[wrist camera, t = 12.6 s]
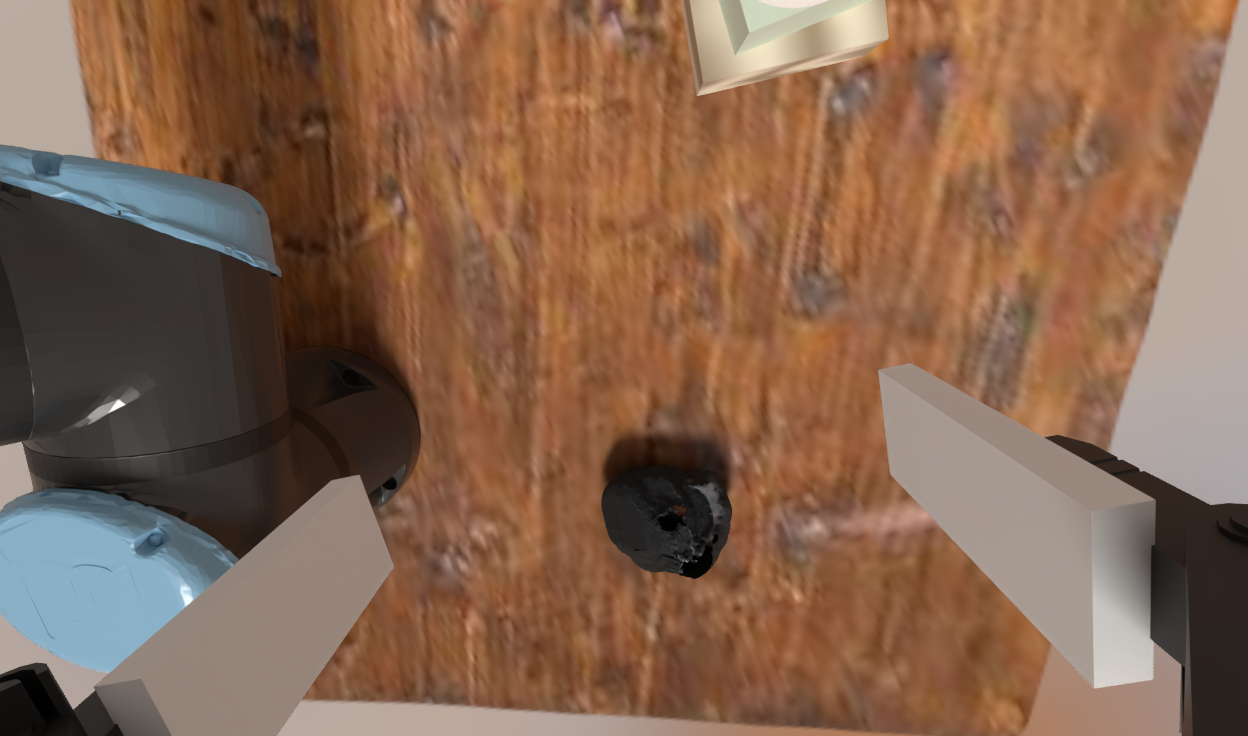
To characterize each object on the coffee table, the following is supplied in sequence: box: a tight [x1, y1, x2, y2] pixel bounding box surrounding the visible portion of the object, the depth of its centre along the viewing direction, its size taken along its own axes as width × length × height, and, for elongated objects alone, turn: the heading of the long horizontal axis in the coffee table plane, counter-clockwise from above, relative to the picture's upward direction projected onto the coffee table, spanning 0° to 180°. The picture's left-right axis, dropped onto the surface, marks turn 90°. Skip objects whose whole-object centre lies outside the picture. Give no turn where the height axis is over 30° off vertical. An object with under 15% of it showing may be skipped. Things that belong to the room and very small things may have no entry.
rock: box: [602, 465, 732, 579], centre depth 49 cm, size 9×10×10 cm
